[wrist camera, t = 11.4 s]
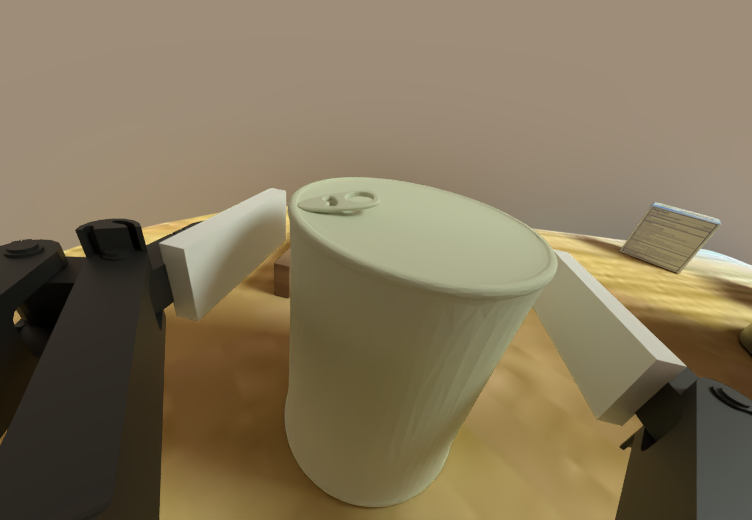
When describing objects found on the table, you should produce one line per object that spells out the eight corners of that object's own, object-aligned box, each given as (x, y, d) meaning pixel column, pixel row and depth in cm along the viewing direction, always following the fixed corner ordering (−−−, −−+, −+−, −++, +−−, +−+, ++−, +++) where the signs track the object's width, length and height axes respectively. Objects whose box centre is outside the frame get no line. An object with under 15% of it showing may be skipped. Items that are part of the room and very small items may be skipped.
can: (284, 348, 18) (285, 156, 12) (412, 336, 21) (464, 177, 15) (284, 540, 10) (286, 276, 4) (485, 478, 13) (648, 271, 7)
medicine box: (679, 268, 45) (720, 219, 41) (678, 275, 42) (723, 223, 38) (622, 247, 50) (653, 201, 45) (618, 252, 47) (652, 203, 42)
